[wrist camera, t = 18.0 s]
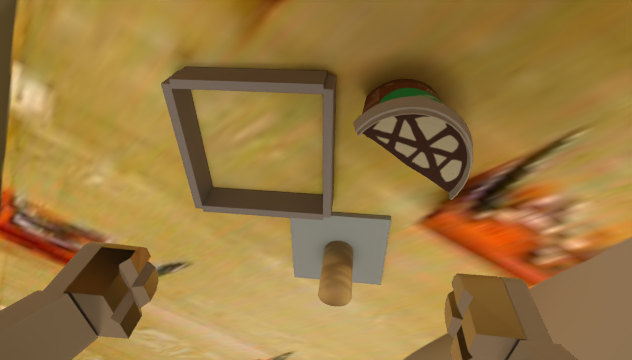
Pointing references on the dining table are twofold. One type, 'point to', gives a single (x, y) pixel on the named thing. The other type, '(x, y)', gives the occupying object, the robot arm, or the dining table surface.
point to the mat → (351, 228)
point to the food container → (419, 132)
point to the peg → (336, 274)
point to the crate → (193, 148)
